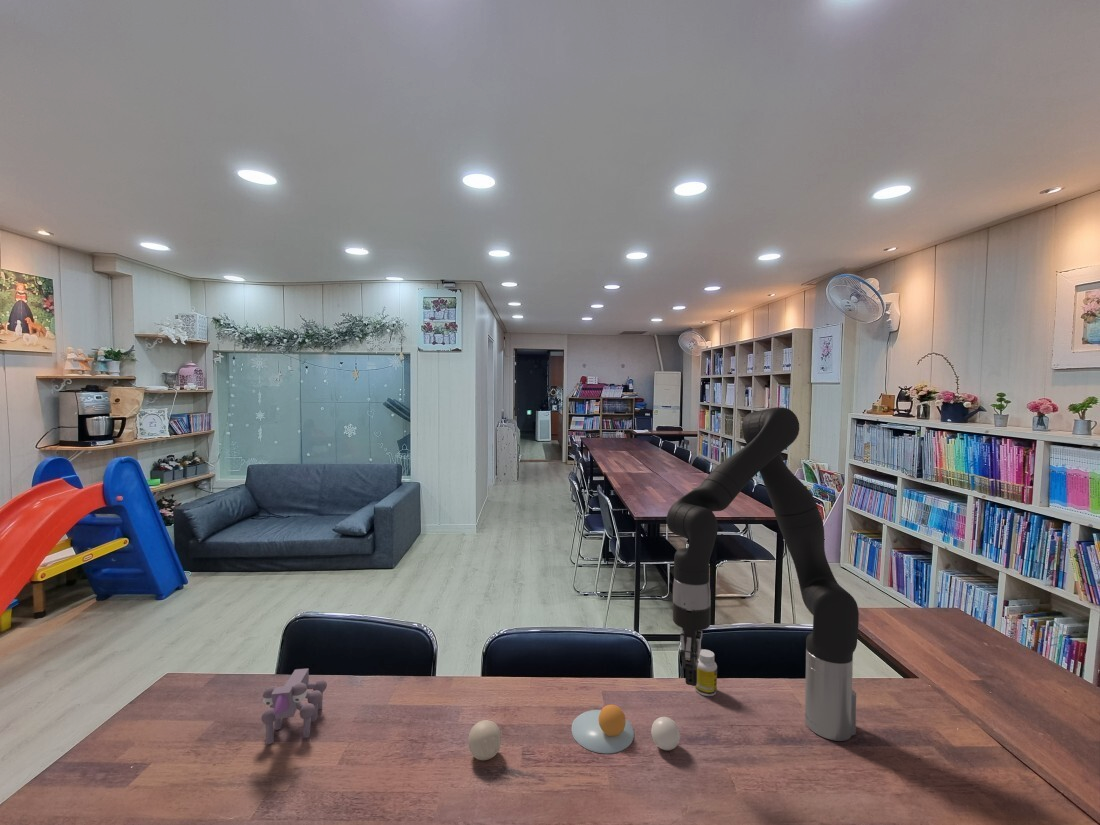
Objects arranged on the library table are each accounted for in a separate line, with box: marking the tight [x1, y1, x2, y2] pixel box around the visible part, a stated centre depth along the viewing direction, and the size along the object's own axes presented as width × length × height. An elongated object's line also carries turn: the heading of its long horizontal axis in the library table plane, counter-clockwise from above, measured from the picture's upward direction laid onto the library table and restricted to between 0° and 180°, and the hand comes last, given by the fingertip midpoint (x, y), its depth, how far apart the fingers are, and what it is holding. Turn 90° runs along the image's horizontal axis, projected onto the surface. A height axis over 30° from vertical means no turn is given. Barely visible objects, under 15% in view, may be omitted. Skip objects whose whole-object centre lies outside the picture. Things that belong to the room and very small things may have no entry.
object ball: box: [599, 704, 627, 737], centre depth 105 cm, size 6×6×6 cm
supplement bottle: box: [694, 648, 718, 697], centre depth 121 cm, size 5×5×10 cm
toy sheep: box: [261, 668, 328, 745], centre depth 103 cm, size 20×11×14 cm, turn 11°
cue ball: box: [650, 716, 681, 751], centre depth 101 cm, size 6×6×6 cm
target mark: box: [571, 709, 635, 755], centre depth 106 cm, size 14×14×1 cm
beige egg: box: [467, 719, 502, 761], centre depth 98 cm, size 7×7×7 cm
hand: (691, 683), depth 98 cm, fingers closed
